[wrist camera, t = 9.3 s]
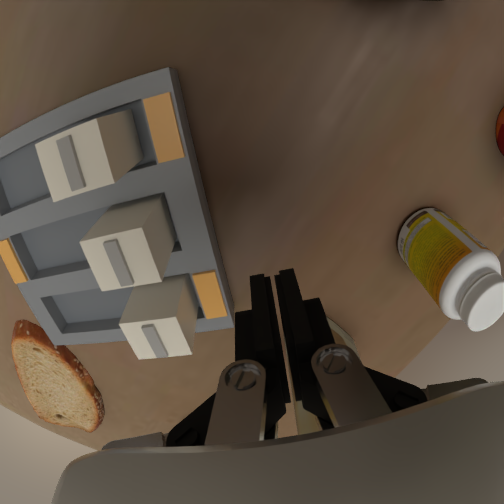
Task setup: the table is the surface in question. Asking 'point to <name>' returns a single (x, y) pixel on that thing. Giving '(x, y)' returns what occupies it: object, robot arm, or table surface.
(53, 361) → the bread slice
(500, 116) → the paper cup
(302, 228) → the table surface
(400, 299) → the table surface
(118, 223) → the tab
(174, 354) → the tab
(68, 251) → the switch bank
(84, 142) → the beige switch slider block
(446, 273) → the supplement bottle
